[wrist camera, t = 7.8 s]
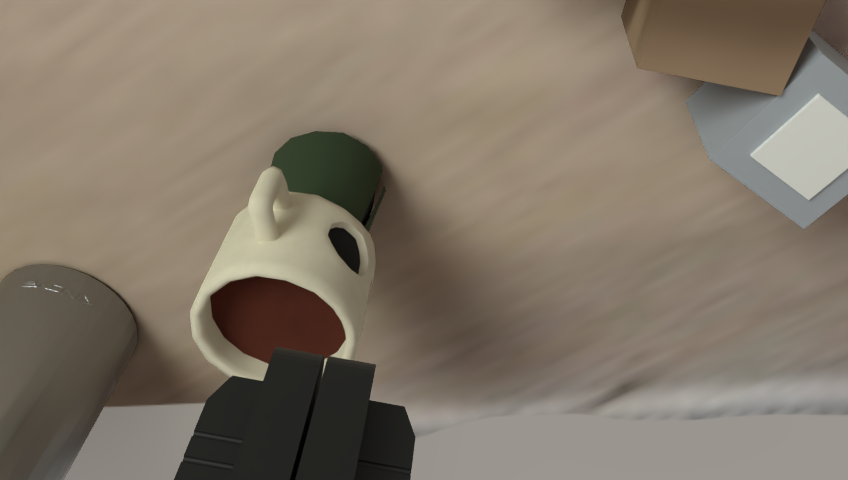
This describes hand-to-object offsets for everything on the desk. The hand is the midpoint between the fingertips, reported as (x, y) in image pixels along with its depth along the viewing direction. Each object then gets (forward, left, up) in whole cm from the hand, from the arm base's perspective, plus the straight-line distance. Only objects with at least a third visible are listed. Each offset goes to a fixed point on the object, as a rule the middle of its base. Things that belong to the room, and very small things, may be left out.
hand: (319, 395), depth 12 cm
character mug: (-15, +1, -29) cm, 33 cm away
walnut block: (+2, -12, -29) cm, 31 cm away
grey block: (-2, -18, -29) cm, 34 cm away
